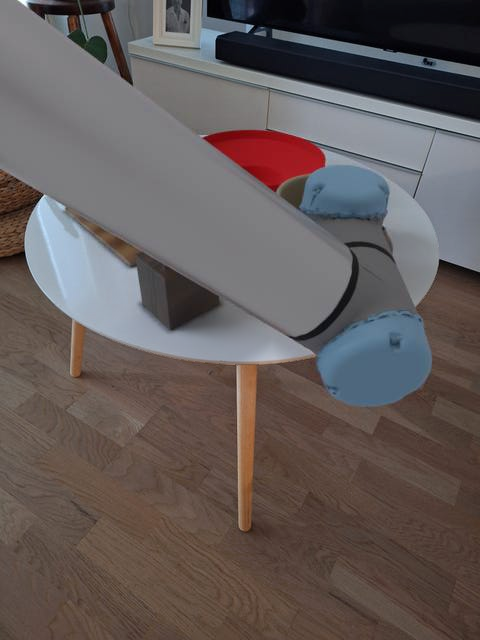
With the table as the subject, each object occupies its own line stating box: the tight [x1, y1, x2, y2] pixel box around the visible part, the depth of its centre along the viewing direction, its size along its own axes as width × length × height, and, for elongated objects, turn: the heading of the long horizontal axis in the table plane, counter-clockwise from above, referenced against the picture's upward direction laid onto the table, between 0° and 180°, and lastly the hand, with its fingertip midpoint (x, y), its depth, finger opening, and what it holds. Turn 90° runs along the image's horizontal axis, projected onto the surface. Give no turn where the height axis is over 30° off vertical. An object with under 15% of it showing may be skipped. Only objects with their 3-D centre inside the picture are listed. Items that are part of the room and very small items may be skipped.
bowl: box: [201, 129, 327, 193], centre depth 103 cm, size 30×30×10 cm
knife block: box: [135, 252, 220, 330], centre depth 74 cm, size 8×10×10 cm
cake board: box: [64, 206, 142, 268], centre depth 96 cm, size 26×18×1 cm
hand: (152, 197), depth 68 cm, fingers closed on knife, 3 cm apart
